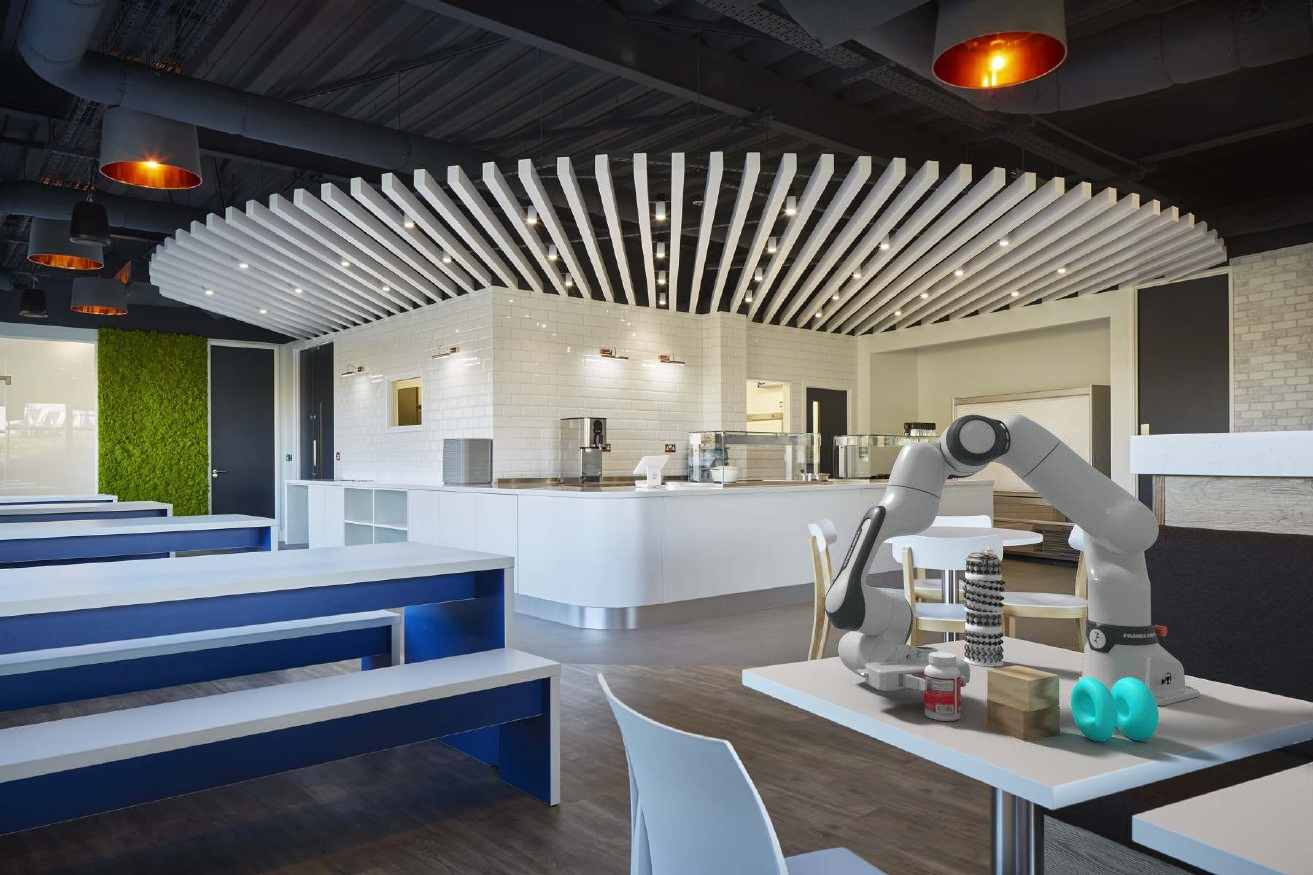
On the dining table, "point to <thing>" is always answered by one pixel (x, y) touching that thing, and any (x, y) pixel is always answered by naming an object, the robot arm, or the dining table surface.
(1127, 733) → the turquoise spool
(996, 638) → the decorative candle
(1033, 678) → the tower top
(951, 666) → the pill bottle
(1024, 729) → the tower base
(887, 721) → the dining table surface
